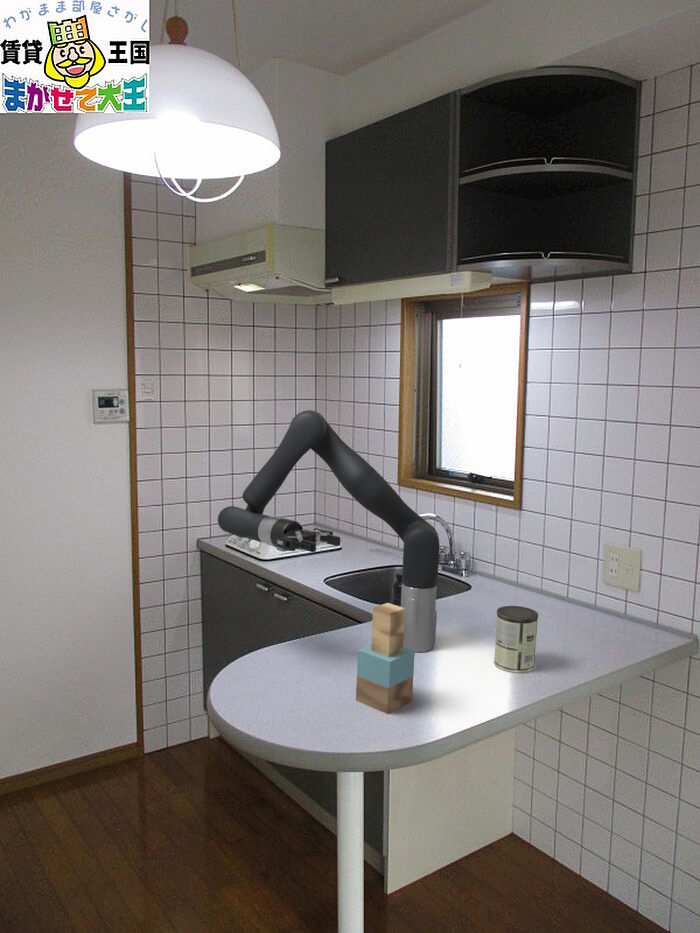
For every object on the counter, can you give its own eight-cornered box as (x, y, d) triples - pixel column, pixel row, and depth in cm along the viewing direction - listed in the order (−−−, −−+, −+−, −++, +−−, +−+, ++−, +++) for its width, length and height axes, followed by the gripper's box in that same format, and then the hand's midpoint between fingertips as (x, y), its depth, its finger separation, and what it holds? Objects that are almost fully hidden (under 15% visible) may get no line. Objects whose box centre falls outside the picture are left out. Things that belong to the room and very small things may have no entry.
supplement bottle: (399, 605, 242) (401, 568, 240) (417, 611, 237) (419, 573, 236) (386, 611, 236) (388, 572, 235) (404, 616, 232) (406, 577, 230)
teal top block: (382, 664, 181) (383, 640, 180) (413, 676, 175) (414, 650, 174) (357, 675, 174) (358, 650, 174) (388, 688, 169) (389, 661, 168)
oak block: (385, 645, 177) (387, 602, 176) (402, 651, 174) (405, 608, 172) (371, 650, 174) (373, 607, 172) (388, 657, 170) (390, 613, 169)
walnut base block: (381, 689, 182) (382, 664, 181) (411, 701, 176) (413, 676, 175) (355, 701, 175) (356, 675, 174) (386, 714, 169) (388, 688, 169)
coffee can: (501, 654, 206) (504, 602, 204) (539, 663, 201) (543, 610, 199) (487, 666, 197) (490, 613, 195) (527, 676, 192) (531, 621, 190)
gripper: (259, 522, 190) (307, 534, 180) (300, 514, 201) (347, 525, 190) (259, 552, 191) (306, 565, 181) (299, 542, 202) (346, 554, 192)
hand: (327, 544), depth 186 cm, fingers open, 8 cm apart
